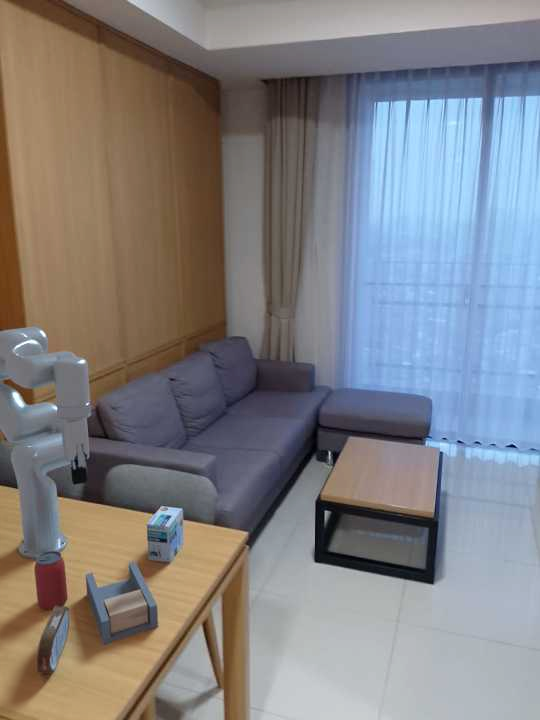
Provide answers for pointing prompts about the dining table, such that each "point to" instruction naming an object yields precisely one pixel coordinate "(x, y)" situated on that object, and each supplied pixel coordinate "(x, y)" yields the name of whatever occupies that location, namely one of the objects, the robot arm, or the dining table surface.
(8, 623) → the dining table surface
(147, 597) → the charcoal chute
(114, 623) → the brown cardboard box
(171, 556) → the light bulb box
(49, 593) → the beer can
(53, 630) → the tin
